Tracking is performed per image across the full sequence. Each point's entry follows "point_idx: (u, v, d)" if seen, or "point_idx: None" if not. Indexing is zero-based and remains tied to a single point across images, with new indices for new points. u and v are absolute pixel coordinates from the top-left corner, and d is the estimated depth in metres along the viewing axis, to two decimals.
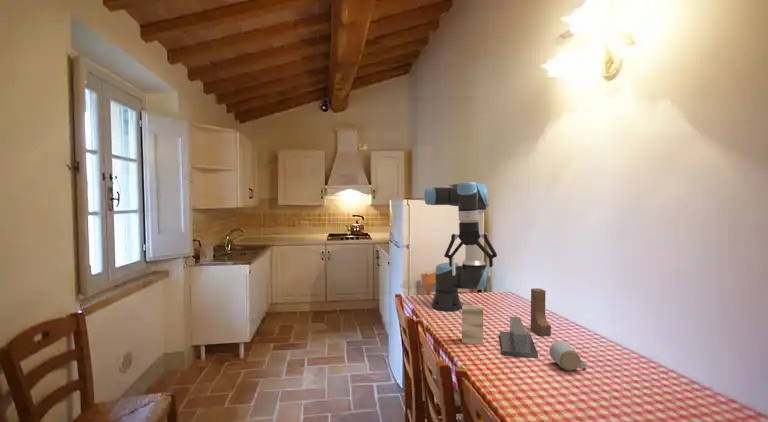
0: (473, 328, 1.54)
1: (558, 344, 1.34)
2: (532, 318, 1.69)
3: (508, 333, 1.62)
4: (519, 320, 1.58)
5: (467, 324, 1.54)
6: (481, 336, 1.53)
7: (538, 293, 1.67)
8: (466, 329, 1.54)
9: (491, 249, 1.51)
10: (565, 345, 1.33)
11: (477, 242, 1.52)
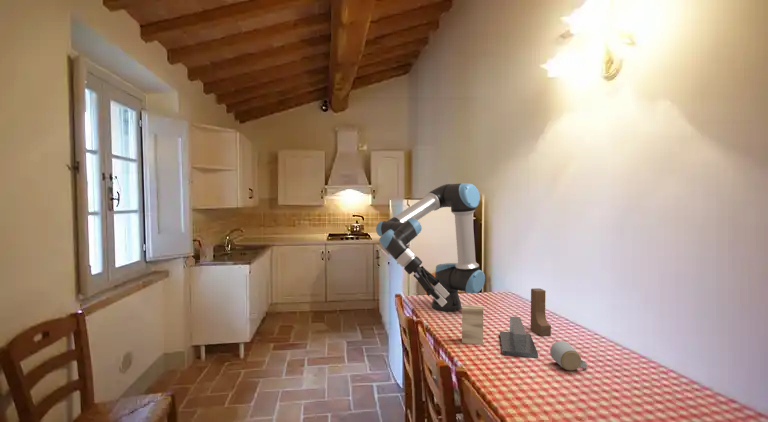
0: (473, 328, 1.54)
1: (558, 344, 1.34)
2: (532, 318, 1.69)
3: (508, 333, 1.62)
4: (519, 320, 1.58)
5: (467, 324, 1.54)
6: (481, 336, 1.53)
7: (538, 293, 1.67)
8: (466, 329, 1.54)
9: None
10: (566, 345, 1.33)
11: None
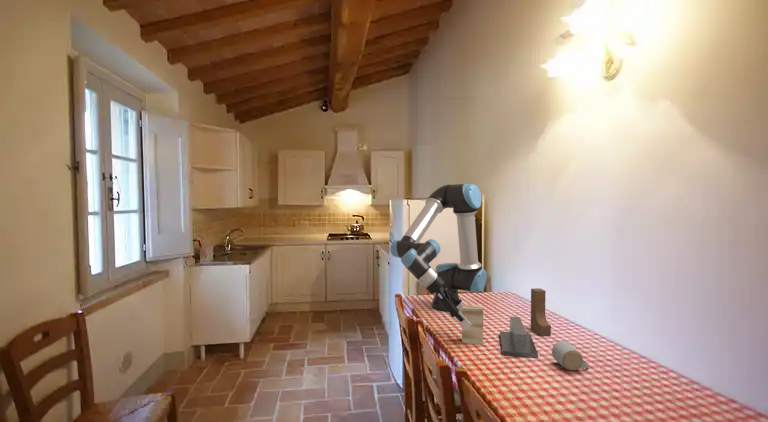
0: (473, 328, 1.54)
1: (560, 344, 1.34)
2: (532, 318, 1.69)
3: (508, 333, 1.62)
4: (519, 320, 1.58)
5: None
6: (481, 336, 1.53)
7: (538, 293, 1.67)
8: (466, 329, 1.54)
9: None
10: (567, 345, 1.33)
11: None
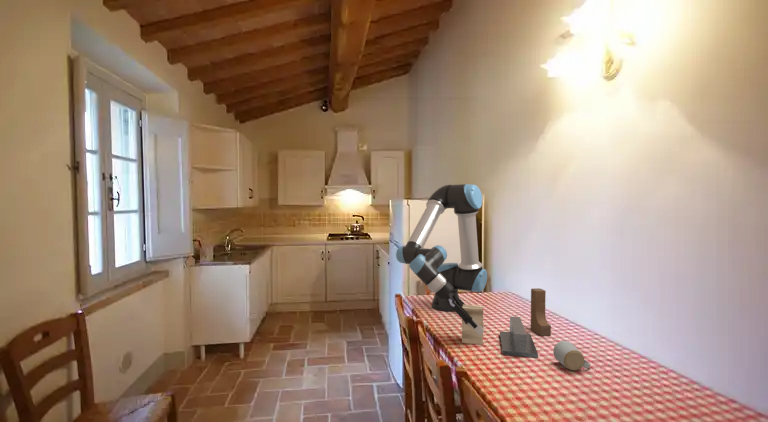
0: None
1: (561, 344, 1.34)
2: (532, 318, 1.69)
3: (508, 333, 1.62)
4: (519, 320, 1.58)
5: (467, 324, 1.54)
6: (481, 336, 1.53)
7: (538, 293, 1.67)
8: (466, 329, 1.54)
9: None
10: (569, 345, 1.33)
11: None
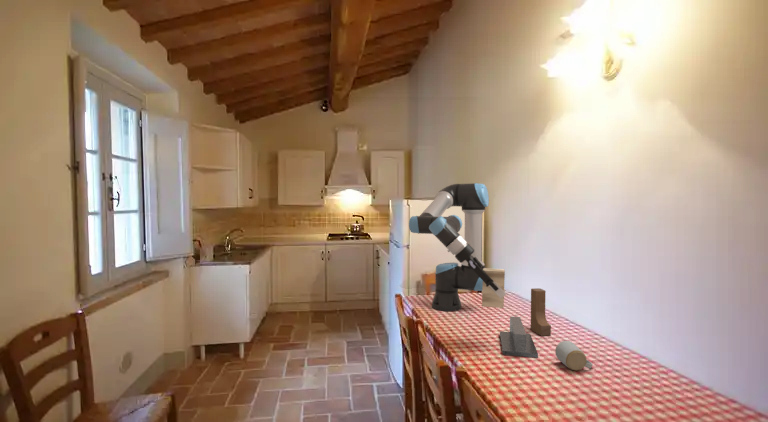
0: None
1: (563, 344, 1.34)
2: (532, 318, 1.69)
3: (508, 333, 1.62)
4: (519, 320, 1.58)
5: (487, 287, 1.50)
6: (502, 299, 1.49)
7: (538, 293, 1.67)
8: (486, 292, 1.51)
9: (481, 278, 1.48)
10: (571, 345, 1.33)
11: None
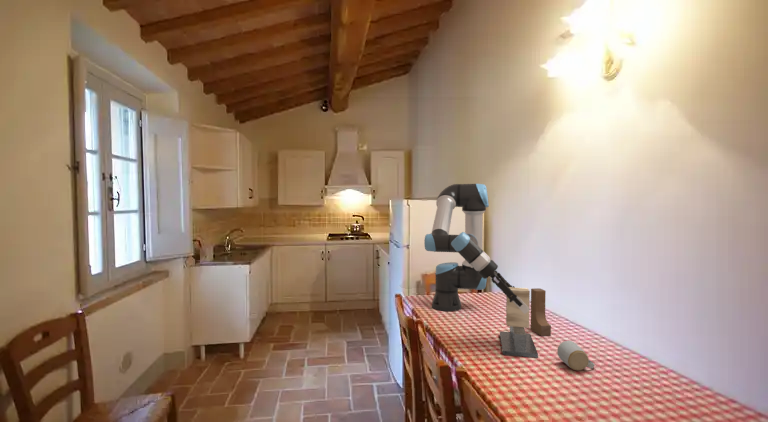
0: (519, 311, 1.49)
1: (566, 344, 1.34)
2: (532, 318, 1.69)
3: (508, 333, 1.62)
4: None
5: (512, 307, 1.50)
6: (527, 319, 1.49)
7: (538, 293, 1.67)
8: (511, 312, 1.50)
9: (504, 293, 1.46)
10: (573, 345, 1.33)
11: None
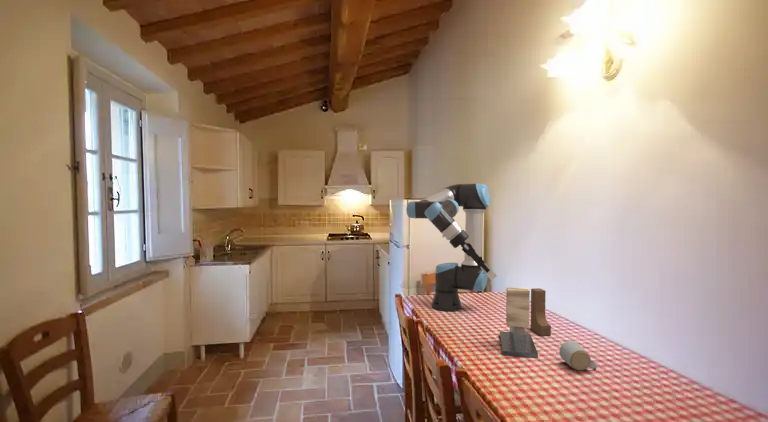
0: (519, 311, 1.49)
1: (568, 344, 1.34)
2: (532, 318, 1.69)
3: (508, 333, 1.62)
4: None
5: (512, 307, 1.50)
6: (527, 319, 1.49)
7: (538, 293, 1.67)
8: (511, 312, 1.50)
9: (473, 259, 1.48)
10: (575, 345, 1.33)
11: (466, 253, 1.53)
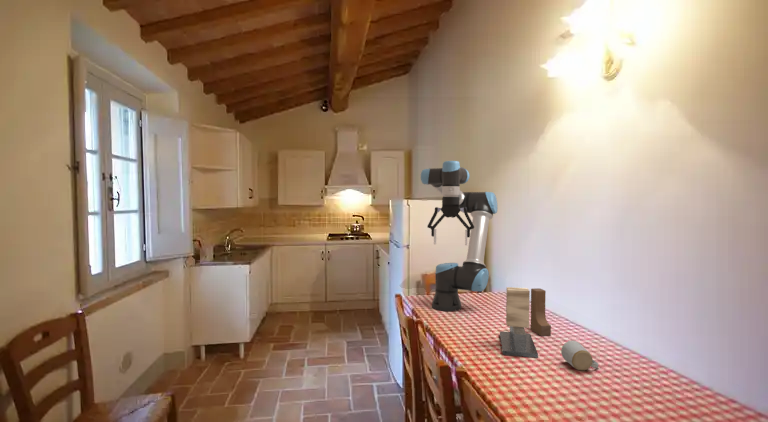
0: (519, 311, 1.49)
1: (569, 344, 1.34)
2: (532, 318, 1.69)
3: (508, 333, 1.62)
4: None
5: (512, 307, 1.50)
6: (527, 319, 1.49)
7: (538, 293, 1.67)
8: (511, 312, 1.50)
9: (469, 221, 1.70)
10: (577, 345, 1.33)
11: (457, 214, 1.70)
